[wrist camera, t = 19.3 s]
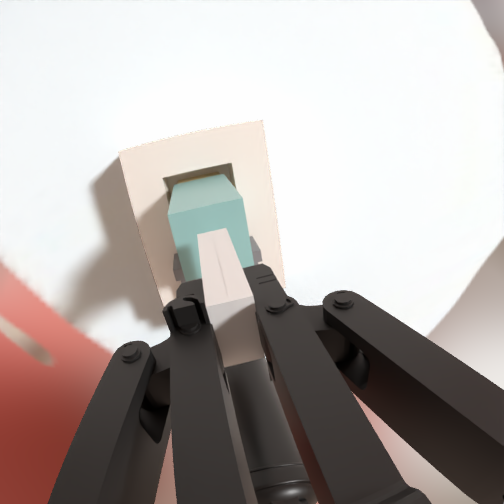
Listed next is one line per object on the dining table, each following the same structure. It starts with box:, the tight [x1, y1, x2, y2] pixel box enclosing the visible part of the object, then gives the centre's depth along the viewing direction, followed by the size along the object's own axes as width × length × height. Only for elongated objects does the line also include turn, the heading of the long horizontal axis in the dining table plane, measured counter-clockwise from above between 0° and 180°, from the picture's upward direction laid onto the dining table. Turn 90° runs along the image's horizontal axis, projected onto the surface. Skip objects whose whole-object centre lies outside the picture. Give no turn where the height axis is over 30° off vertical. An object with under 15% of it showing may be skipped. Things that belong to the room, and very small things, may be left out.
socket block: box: [118, 120, 286, 307], centre depth 28 cm, size 16×12×4 cm
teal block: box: [168, 172, 254, 281], centre depth 22 cm, size 4×4×12 cm
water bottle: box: [224, 357, 318, 504], centre depth 28 cm, size 10×10×23 cm
